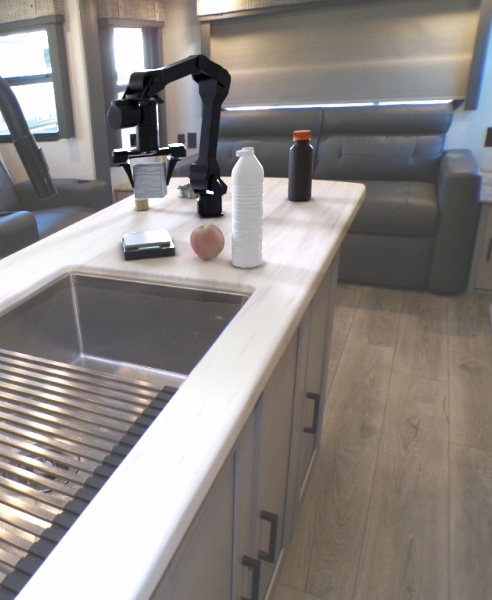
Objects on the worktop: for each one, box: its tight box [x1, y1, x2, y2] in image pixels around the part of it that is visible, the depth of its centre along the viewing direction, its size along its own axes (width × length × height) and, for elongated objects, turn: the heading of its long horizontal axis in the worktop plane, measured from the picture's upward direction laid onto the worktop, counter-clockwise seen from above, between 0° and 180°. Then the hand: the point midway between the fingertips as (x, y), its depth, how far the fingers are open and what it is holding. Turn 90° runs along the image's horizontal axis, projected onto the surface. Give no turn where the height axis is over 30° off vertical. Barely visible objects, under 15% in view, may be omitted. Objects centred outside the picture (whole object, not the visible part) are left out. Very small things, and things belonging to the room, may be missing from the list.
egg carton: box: [177, 182, 199, 199], centre depth 183 cm, size 11×8×4 cm
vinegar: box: [287, 129, 315, 202], centre depth 161 cm, size 7×7×20 cm
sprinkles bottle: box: [131, 168, 150, 211], centre depth 169 cm, size 5×5×14 cm
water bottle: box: [230, 146, 265, 269], centre depth 113 cm, size 9×6×25 cm
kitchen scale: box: [121, 228, 176, 261], centre depth 134 cm, size 12×14×3 cm
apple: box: [189, 222, 226, 260], centre depth 123 cm, size 8×8×8 cm
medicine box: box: [131, 161, 168, 199], centre depth 140 cm, size 8×4×9 cm, turn 70°
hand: (150, 186), depth 141 cm, fingers closed on medicine box, 9 cm apart
